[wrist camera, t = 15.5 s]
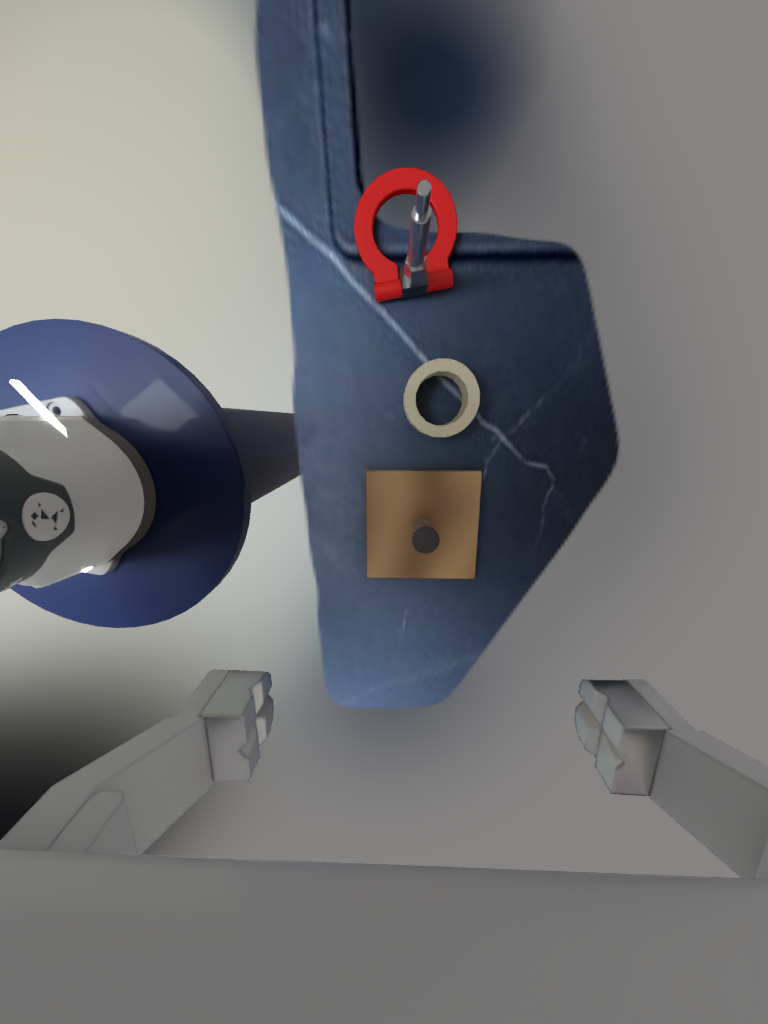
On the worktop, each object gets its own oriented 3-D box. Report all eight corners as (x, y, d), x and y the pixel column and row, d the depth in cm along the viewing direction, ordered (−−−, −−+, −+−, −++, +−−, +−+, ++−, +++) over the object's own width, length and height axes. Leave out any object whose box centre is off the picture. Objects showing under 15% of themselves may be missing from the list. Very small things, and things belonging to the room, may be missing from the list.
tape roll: (403, 436, 34) (403, 437, 31) (403, 364, 33) (404, 358, 30) (470, 435, 34) (477, 437, 31) (474, 363, 33) (482, 358, 30)
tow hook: (347, 188, 30) (366, 308, 32) (312, 4, 17) (347, 221, 19) (448, 166, 29) (462, 289, 31) (488, -39, 17) (507, 188, 19)
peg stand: (367, 573, 38) (363, 597, 33) (366, 469, 35) (361, 477, 30) (472, 575, 38) (485, 599, 32) (479, 470, 35) (494, 478, 30)
